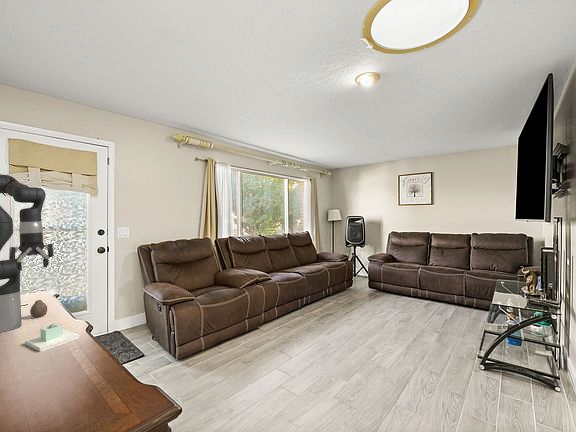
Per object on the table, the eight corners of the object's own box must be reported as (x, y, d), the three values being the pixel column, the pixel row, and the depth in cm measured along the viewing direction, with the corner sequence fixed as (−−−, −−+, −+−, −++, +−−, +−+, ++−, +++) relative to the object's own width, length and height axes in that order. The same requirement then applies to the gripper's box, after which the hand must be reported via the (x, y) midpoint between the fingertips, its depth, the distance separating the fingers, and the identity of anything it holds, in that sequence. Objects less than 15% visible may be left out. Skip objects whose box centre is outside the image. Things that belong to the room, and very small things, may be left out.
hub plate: (25, 344, 114) (24, 327, 114) (63, 332, 125) (62, 316, 125) (40, 351, 106) (39, 333, 106) (79, 338, 117) (78, 321, 117)
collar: (40, 339, 115) (40, 328, 115) (57, 333, 119) (56, 323, 119) (46, 341, 112) (45, 330, 112) (62, 336, 116) (62, 325, 116)
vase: (37, 319, 146) (36, 302, 146) (27, 318, 147) (26, 302, 147) (50, 314, 153) (50, 298, 153) (40, 314, 154) (40, 298, 154)
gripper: (48, 231, 129) (49, 265, 129) (6, 233, 117) (7, 271, 117) (54, 230, 126) (56, 266, 125) (12, 233, 113) (13, 272, 113)
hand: (32, 268), depth 121 cm, fingers open, 8 cm apart
